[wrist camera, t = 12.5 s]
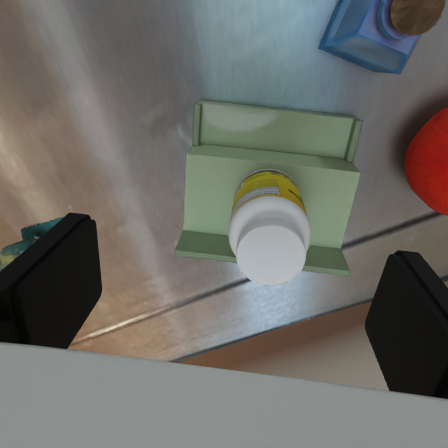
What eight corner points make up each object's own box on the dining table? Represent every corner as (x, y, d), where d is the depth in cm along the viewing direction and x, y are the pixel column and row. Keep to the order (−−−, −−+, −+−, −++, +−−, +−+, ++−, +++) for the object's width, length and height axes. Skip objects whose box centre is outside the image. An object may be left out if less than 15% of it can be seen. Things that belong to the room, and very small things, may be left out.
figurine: (29, 299, 48) (-14, 323, 41) (-1, 241, 47) (-51, 255, 40) (100, 269, 46) (67, 289, 39) (69, 207, 45) (29, 216, 38)
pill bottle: (304, 220, 33) (324, 289, 23) (242, 232, 34) (236, 301, 24) (294, 159, 31) (311, 206, 21) (227, 174, 32) (214, 225, 22)
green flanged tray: (200, 100, 36) (177, 114, 26) (353, 115, 35) (390, 136, 25) (194, 209, 41) (174, 255, 32) (326, 224, 41) (348, 276, 31)
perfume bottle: (349, -26, 30) (400, -75, 19) (412, 0, 31) (496, -33, 20) (318, 48, 33) (347, 41, 22) (376, 71, 33) (432, 76, 23)
